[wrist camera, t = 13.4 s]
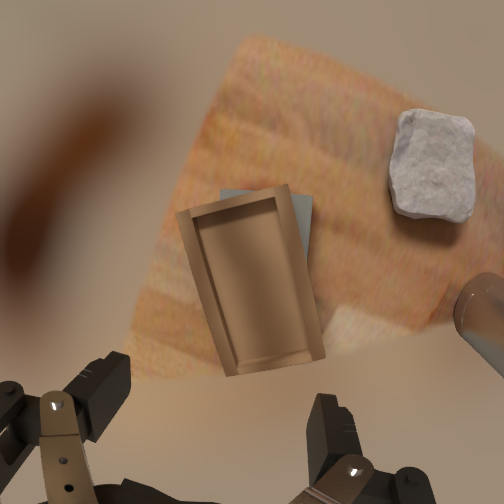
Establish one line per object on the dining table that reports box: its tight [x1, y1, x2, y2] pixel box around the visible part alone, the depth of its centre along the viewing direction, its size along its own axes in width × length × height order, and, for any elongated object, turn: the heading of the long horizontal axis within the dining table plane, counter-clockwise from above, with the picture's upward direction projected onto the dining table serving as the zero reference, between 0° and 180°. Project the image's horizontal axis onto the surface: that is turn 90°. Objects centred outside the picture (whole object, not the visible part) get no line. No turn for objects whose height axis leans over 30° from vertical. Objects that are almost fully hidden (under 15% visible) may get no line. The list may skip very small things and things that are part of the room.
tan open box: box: [175, 184, 326, 377], centre depth 28 cm, size 9×15×5 cm, turn 14°
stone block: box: [388, 109, 475, 224], centre depth 29 cm, size 12×5×10 cm
